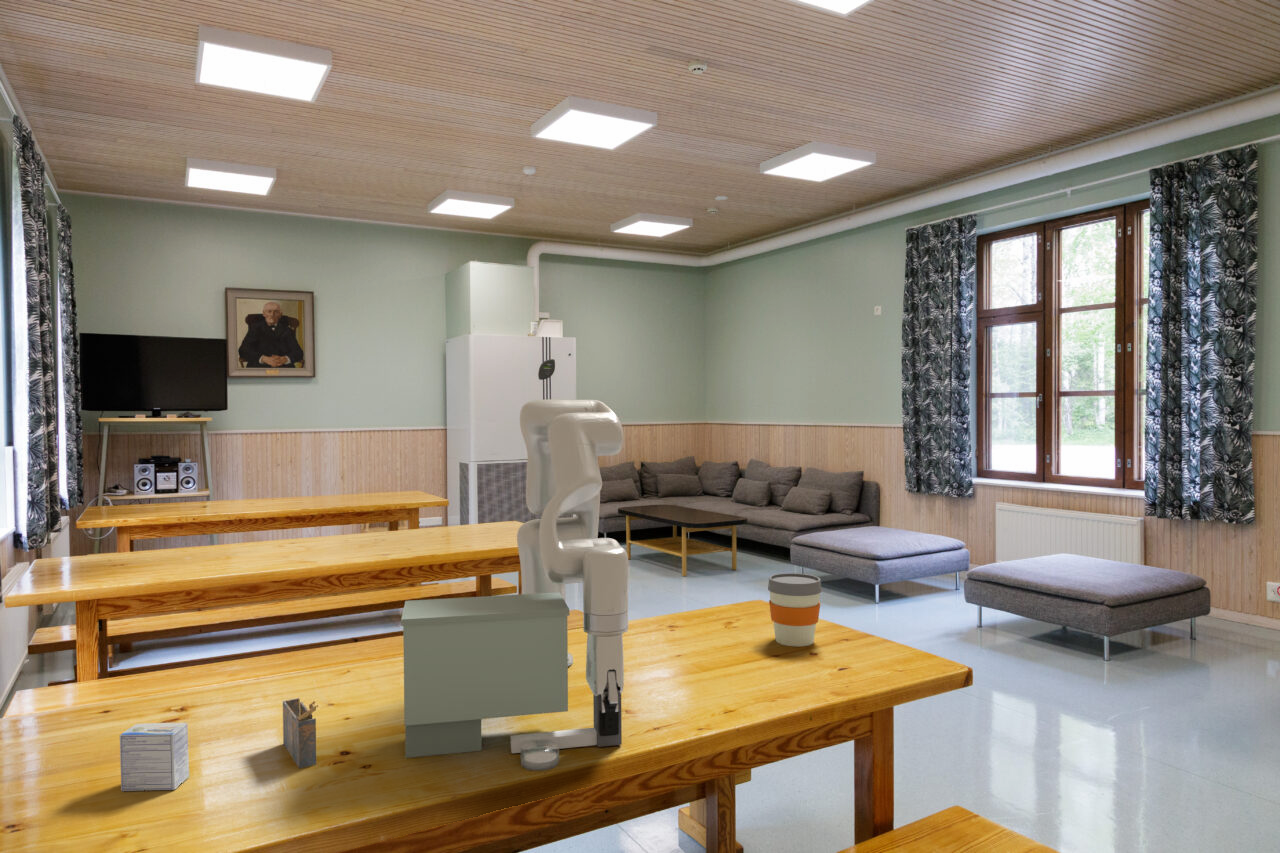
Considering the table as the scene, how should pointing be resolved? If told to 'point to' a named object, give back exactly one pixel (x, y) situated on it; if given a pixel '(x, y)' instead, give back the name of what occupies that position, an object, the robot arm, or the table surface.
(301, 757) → the weathered grey open box
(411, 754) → the cabinet
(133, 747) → the medicine box
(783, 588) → the reusable coffee cup
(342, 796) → the table surface
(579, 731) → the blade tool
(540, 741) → the steel token
